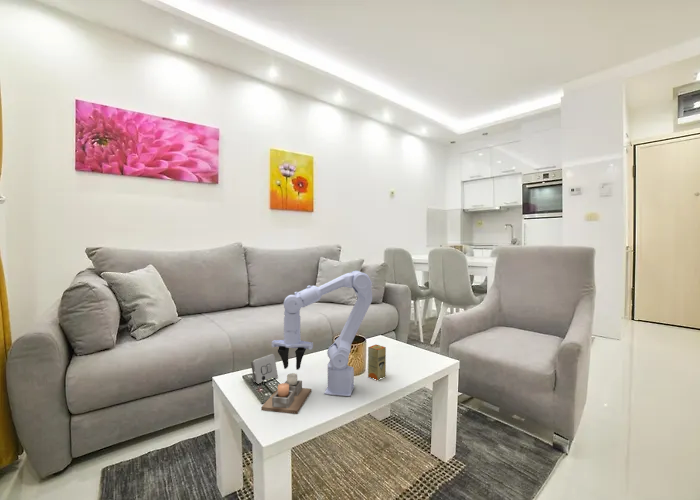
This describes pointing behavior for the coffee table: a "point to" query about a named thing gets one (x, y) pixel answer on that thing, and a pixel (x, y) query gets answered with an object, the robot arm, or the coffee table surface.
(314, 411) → the coffee table surface
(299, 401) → the panel
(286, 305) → the robot arm
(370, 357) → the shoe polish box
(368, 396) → the coffee table surface
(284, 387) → the plug terracotta
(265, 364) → the electrical switch
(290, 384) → the plug cream
